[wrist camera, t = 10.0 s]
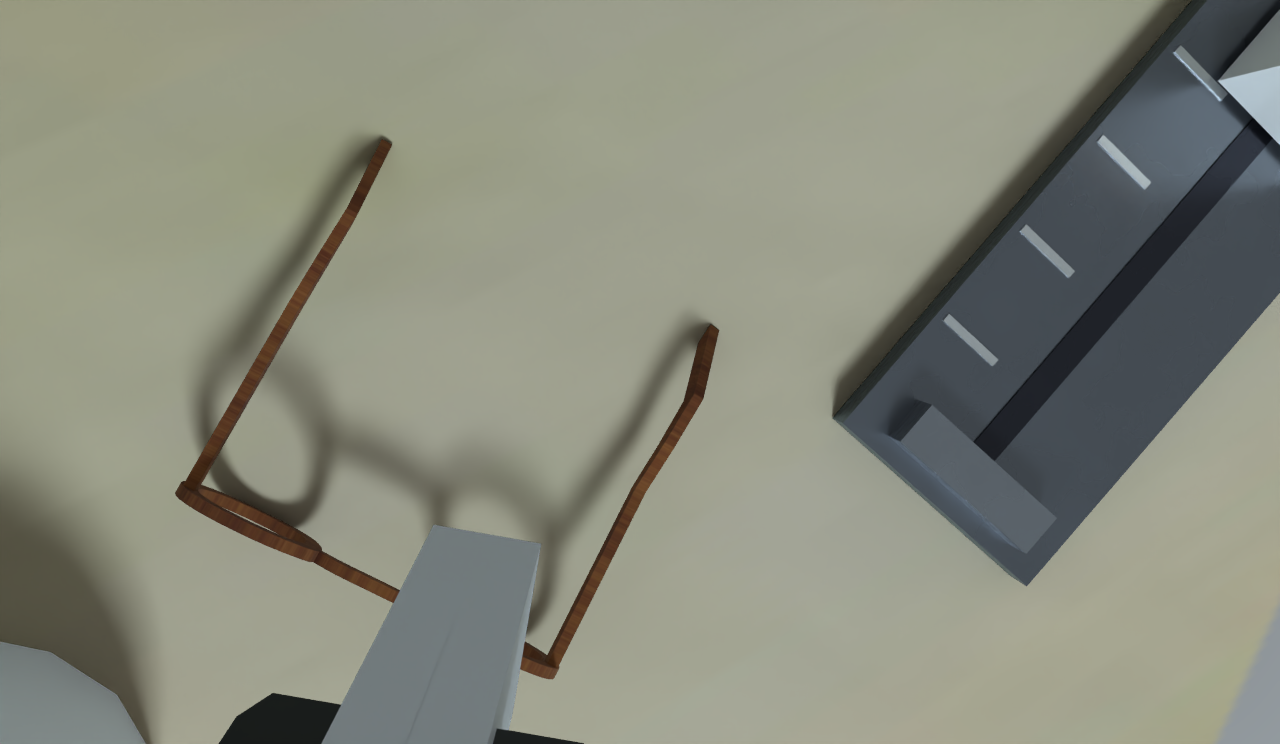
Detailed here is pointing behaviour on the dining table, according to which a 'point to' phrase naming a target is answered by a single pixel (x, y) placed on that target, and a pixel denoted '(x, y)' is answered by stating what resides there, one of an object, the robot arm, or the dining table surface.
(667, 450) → the glasses
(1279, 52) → the fader knob
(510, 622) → the robot arm
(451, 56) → the dining table surface
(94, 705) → the teardrop
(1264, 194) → the board
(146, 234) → the dining table surface
